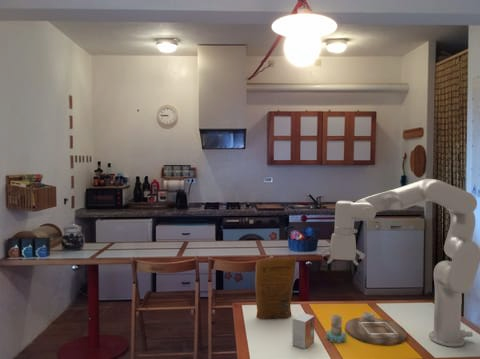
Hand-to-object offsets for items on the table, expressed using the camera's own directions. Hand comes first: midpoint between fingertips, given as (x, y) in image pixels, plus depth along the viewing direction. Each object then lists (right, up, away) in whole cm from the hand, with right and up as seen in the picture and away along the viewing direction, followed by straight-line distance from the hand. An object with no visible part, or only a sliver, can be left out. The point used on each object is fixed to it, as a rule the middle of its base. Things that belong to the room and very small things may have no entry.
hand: (341, 273), depth 164 cm
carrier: (+15, -26, +5) cm, 30 cm away
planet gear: (-3, -26, -2) cm, 26 cm away
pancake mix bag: (-26, -25, +19) cm, 40 cm away
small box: (-17, -26, -7) cm, 32 cm away
